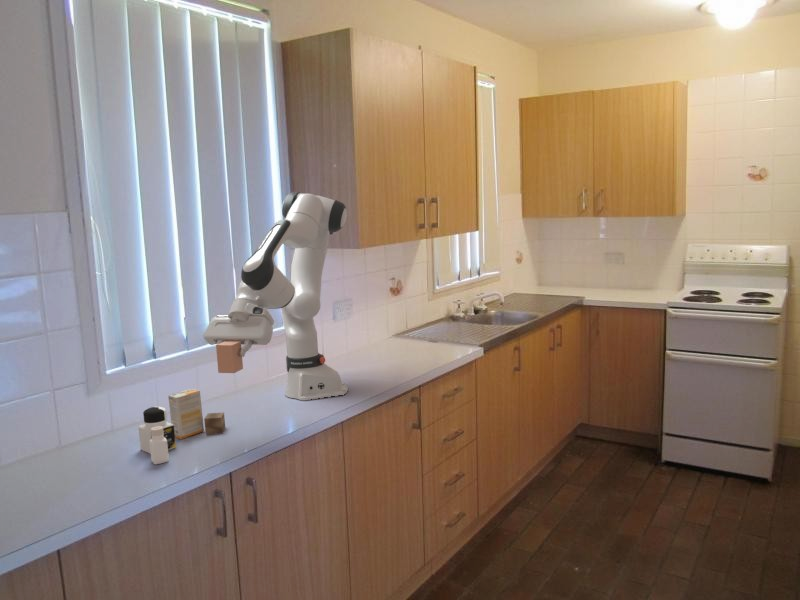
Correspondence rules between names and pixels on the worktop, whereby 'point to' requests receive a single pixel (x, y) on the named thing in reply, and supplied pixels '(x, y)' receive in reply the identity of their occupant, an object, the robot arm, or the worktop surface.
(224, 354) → the terracotta block
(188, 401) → the supplement box
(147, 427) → the medicine bottle
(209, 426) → the walnut block
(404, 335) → the worktop surface
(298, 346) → the robot arm
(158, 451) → the pepper shaker
